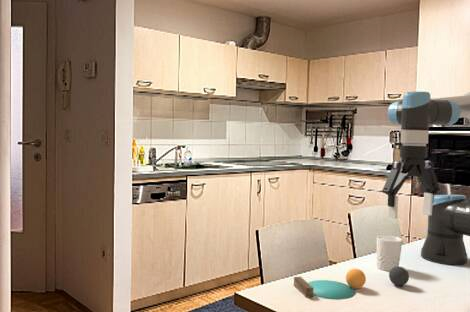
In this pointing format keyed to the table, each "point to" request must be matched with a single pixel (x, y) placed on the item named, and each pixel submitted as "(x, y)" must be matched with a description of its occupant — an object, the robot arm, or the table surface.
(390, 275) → the dark grey sphere
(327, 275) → the table surface
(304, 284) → the wall
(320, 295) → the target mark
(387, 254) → the white cup
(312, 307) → the table surface
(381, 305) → the table surface
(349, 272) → the object ball
